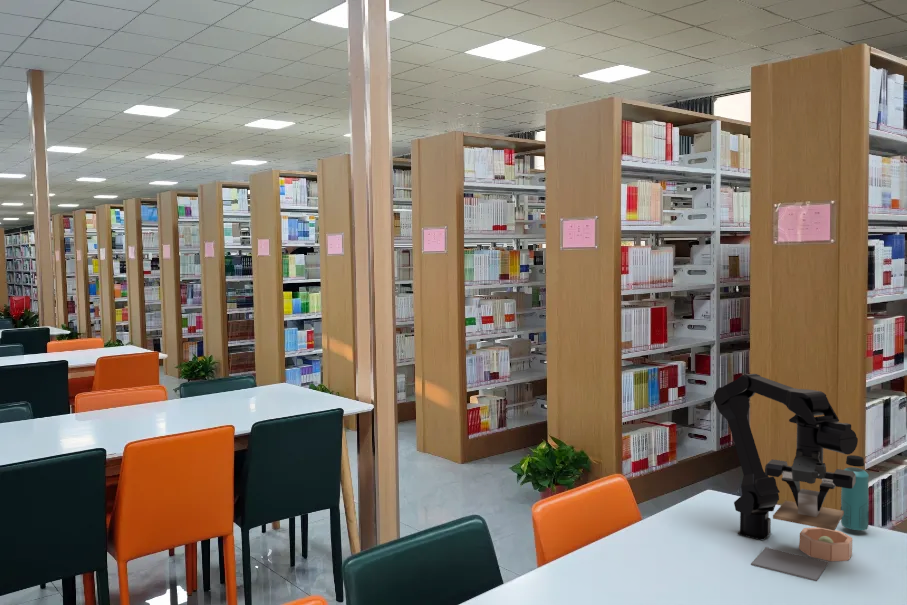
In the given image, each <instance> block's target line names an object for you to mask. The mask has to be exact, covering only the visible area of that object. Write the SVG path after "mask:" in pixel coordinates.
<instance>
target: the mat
mask: <svg viewBox="0 0 907 605" xmlns="http://www.w3.org/2000/svg"><path fill="white" fill-rule="evenodd" d="M750 565H751V566H754V567H757V568H762V569H765V570H770V571H772V572H773V571H774V572H778V573H782V574H786V575H789V576H794V577H797V578H803V579H807V580H810V581H813V582H818V580H819V579H820V577H821V576H822V574H823V573H824V571H825V570H826V568H827V566H828V565H829V561H827V560H823V559H818V558H814V557H811V556H805V555H801V554H797V553H793V552H788V551H784V550H780V549H777V548H776V549H775V548H770V547H764V548H763V550H762V551H761V552H759V554H758V555H757V556H756V557H755V558H754V559H753V560H752V561H751V562H750Z"/></svg>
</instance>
